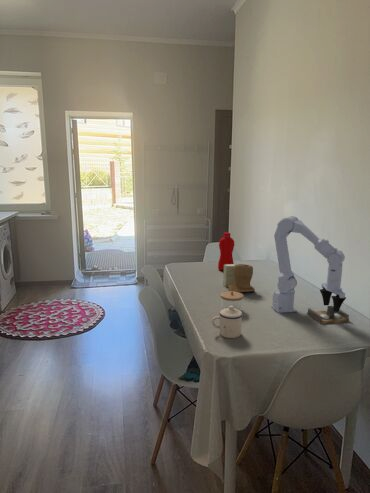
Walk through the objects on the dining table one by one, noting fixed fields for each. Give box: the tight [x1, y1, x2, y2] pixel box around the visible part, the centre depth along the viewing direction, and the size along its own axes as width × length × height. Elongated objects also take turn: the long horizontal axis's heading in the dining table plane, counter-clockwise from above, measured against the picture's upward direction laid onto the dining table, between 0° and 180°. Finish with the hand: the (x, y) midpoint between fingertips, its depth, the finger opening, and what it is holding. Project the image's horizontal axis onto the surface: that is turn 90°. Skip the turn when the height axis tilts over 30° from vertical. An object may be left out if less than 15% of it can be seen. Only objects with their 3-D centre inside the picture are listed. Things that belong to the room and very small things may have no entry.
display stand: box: [306, 308, 350, 325], centre depth 166 cm, size 14×11×3 cm
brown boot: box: [228, 263, 256, 293], centre depth 201 cm, size 15×12×15 cm
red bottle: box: [217, 232, 235, 272], centre depth 244 cm, size 9×11×25 cm
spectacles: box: [313, 305, 341, 319], centre depth 166 cm, size 10×8×5 cm
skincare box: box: [222, 264, 236, 288], centre depth 210 cm, size 6×4×12 cm
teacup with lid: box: [211, 306, 243, 339], centre depth 148 cm, size 12×9×12 cm
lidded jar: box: [220, 290, 244, 310], centre depth 173 cm, size 11×11×9 cm
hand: (331, 308), depth 163 cm, fingers open, 7 cm apart
